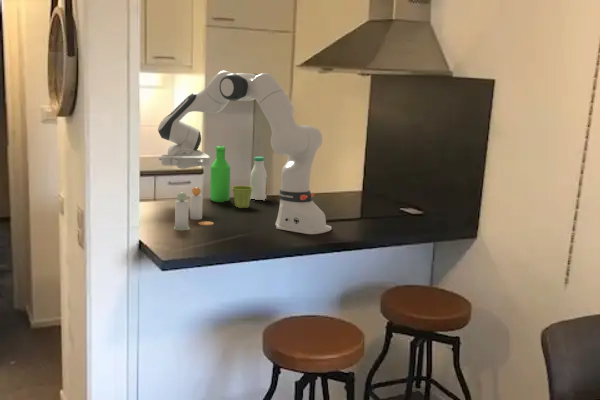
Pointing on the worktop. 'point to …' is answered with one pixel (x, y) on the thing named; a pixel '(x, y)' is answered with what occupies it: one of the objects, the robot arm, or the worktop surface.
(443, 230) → the worktop surface
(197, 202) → the orange ball tube
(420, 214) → the worktop surface
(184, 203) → the green ball tube
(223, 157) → the bottle
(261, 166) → the milk bottle
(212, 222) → the card
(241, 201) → the plant pot
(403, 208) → the worktop surface
